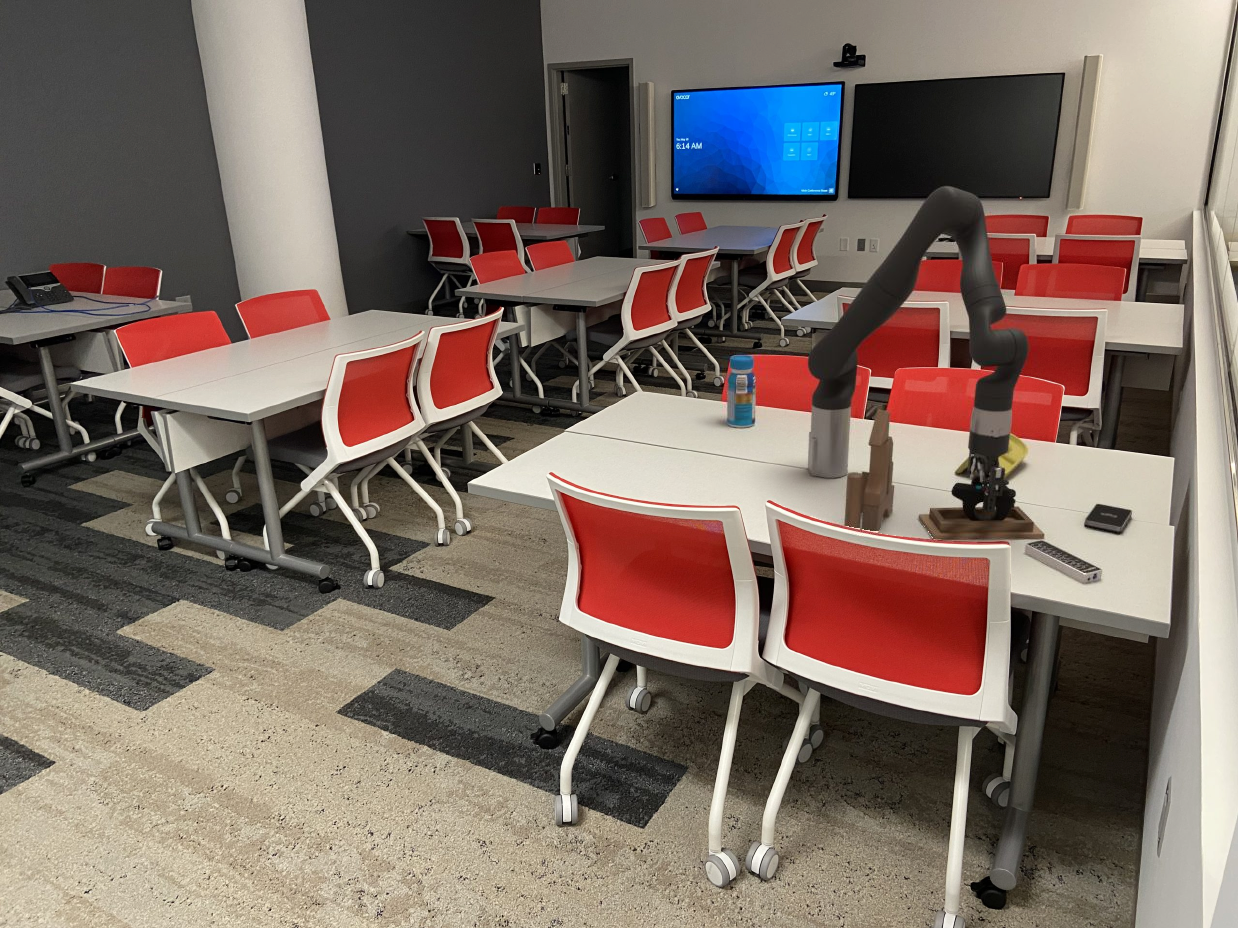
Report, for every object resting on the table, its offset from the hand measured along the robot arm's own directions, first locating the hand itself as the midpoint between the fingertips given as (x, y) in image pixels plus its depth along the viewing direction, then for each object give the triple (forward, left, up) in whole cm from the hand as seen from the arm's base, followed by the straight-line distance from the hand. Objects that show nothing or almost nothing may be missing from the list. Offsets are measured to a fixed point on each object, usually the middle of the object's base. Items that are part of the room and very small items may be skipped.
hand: (981, 504), depth 182 cm
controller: (0, 0, -4) cm, 4 cm away
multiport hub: (+10, -17, -6) cm, 21 cm away
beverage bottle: (-43, +76, -6) cm, 87 cm away
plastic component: (+15, +35, -6) cm, 38 cm away
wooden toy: (-22, +4, -6) cm, 23 cm away
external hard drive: (+27, +2, -6) cm, 28 cm away
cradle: (0, 0, -5) cm, 5 cm away
